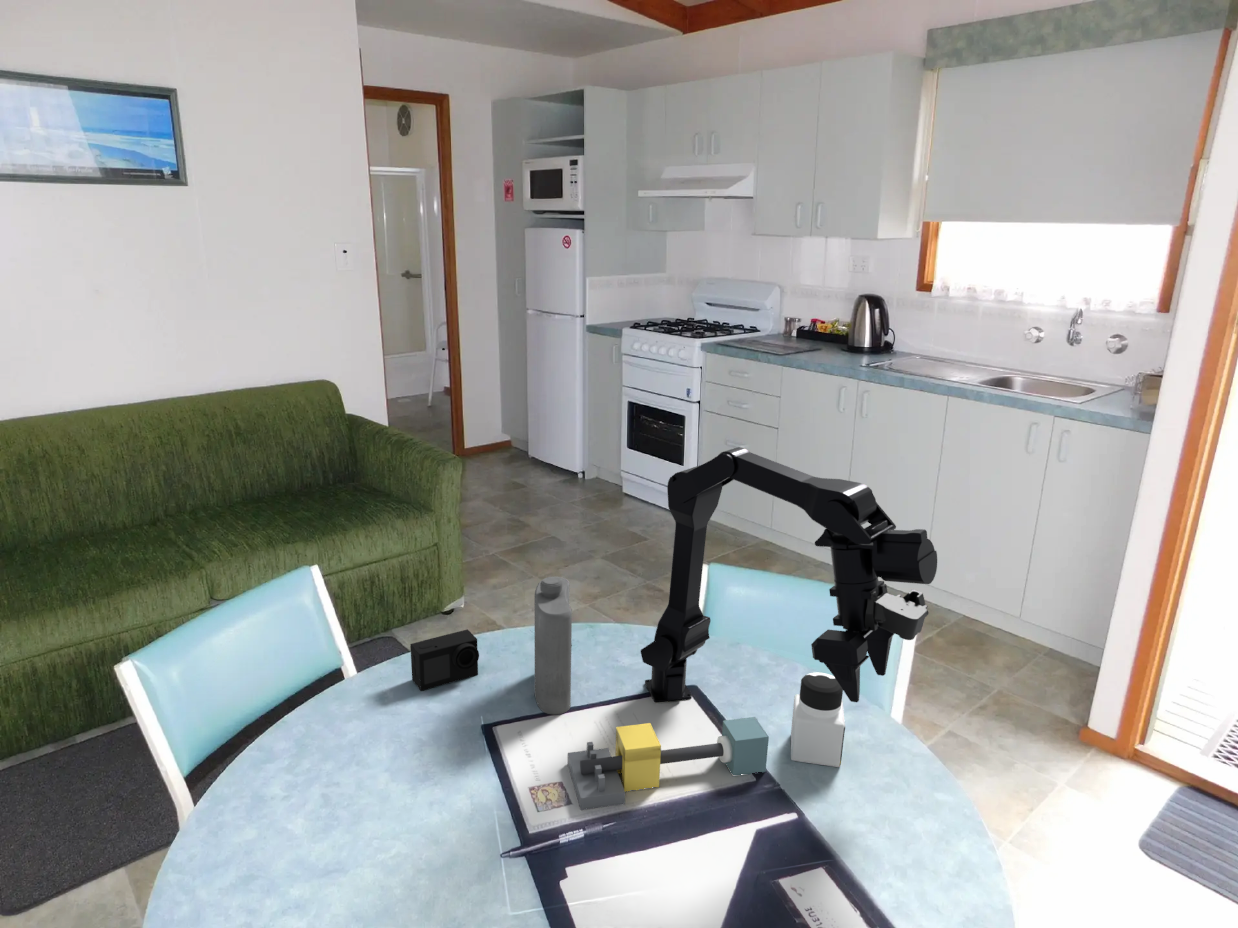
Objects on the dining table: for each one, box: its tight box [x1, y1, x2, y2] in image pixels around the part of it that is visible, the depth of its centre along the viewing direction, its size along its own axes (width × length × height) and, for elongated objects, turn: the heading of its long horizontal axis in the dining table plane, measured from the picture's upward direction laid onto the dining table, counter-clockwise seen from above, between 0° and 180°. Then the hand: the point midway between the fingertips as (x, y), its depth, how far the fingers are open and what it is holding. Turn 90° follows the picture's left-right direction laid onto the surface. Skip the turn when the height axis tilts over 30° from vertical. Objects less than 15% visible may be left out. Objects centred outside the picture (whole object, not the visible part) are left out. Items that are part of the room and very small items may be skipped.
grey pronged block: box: [567, 741, 626, 811], centre depth 114 cm, size 10×6×4 cm, turn 14°
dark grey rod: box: [580, 716, 770, 776], centre depth 116 cm, size 26×5×6 cm, turn 104°
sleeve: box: [614, 722, 662, 793], centre depth 115 cm, size 5×5×7 cm
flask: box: [534, 576, 573, 716], centre depth 135 cm, size 15×6×20 cm, turn 5°
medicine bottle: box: [790, 671, 846, 768], centre depth 122 cm, size 7×7×12 cm
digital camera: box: [409, 629, 480, 692], centre depth 139 cm, size 10×5×7 cm, turn 123°
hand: (868, 687), depth 112 cm, fingers open, 9 cm apart
